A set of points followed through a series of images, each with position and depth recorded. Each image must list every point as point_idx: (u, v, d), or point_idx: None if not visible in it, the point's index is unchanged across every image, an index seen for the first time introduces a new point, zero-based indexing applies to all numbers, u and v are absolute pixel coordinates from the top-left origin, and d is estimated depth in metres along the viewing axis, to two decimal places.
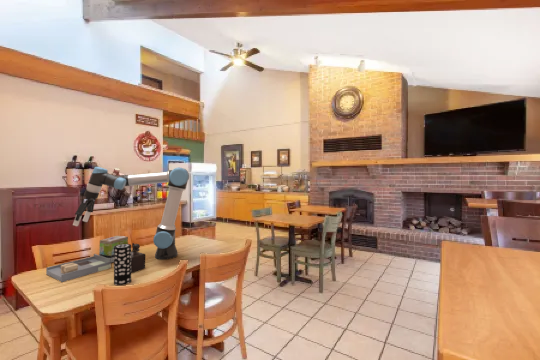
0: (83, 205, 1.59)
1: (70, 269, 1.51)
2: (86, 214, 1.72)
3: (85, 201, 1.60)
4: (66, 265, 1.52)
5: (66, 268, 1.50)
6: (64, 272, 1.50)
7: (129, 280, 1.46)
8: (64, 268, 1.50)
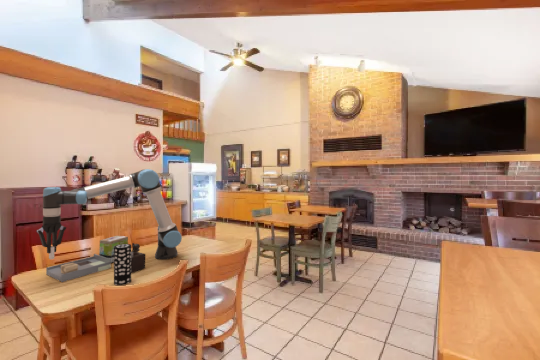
0: (40, 236, 1.41)
1: (70, 269, 1.51)
2: None
3: (38, 232, 1.40)
4: (66, 265, 1.52)
5: (66, 268, 1.50)
6: (64, 272, 1.50)
7: (129, 280, 1.46)
8: (64, 268, 1.50)
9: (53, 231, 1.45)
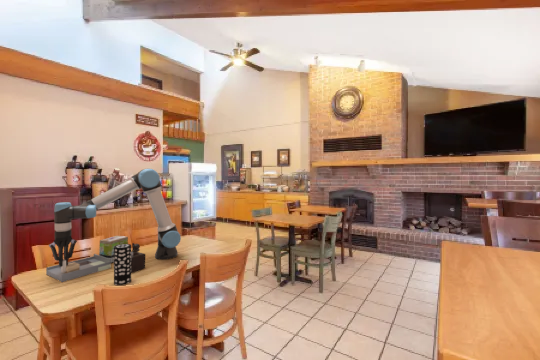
0: (53, 251, 1.46)
1: (72, 268, 1.52)
2: None
3: (50, 247, 1.45)
4: (67, 265, 1.53)
5: (68, 268, 1.50)
6: (66, 272, 1.51)
7: (129, 280, 1.46)
8: (66, 268, 1.51)
9: (64, 245, 1.50)
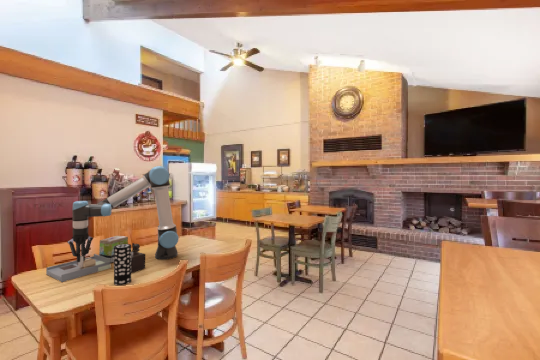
0: (71, 247, 1.53)
1: (89, 264, 1.59)
2: None
3: (69, 243, 1.52)
4: (84, 261, 1.60)
5: (85, 263, 1.58)
6: (83, 267, 1.58)
7: (129, 280, 1.46)
8: (83, 263, 1.58)
9: (82, 241, 1.57)
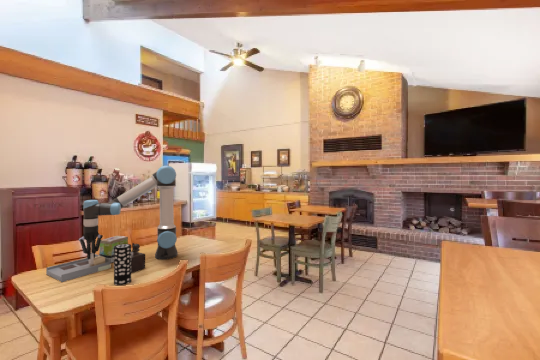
0: (82, 244, 1.58)
1: (99, 261, 1.64)
2: None
3: (80, 241, 1.57)
4: (94, 258, 1.65)
5: (95, 261, 1.62)
6: (93, 264, 1.63)
7: (129, 280, 1.46)
8: None
9: (92, 239, 1.62)
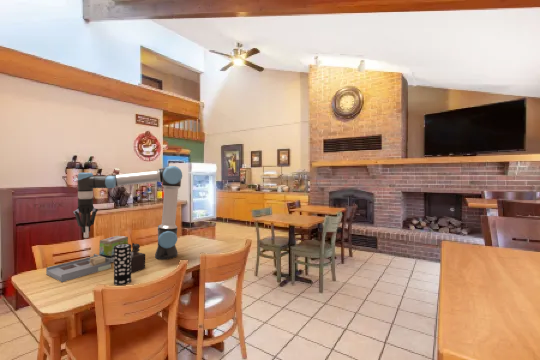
0: (77, 217, 1.56)
1: (99, 261, 1.64)
2: None
3: (75, 213, 1.55)
4: (95, 258, 1.65)
5: (95, 260, 1.63)
6: (93, 264, 1.63)
7: (129, 280, 1.46)
8: (93, 261, 1.63)
9: (87, 212, 1.60)
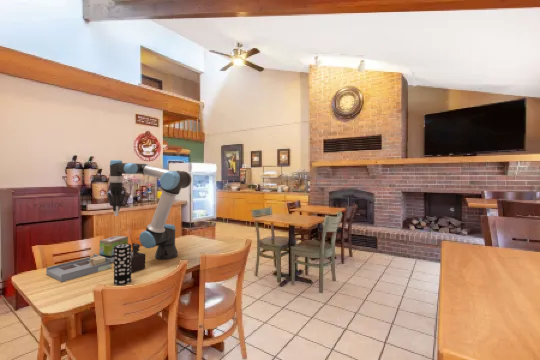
0: (109, 197, 1.83)
1: (99, 261, 1.64)
2: None
3: (107, 194, 1.82)
4: (95, 258, 1.65)
5: (95, 260, 1.63)
6: (93, 264, 1.63)
7: (129, 280, 1.46)
8: (93, 261, 1.63)
9: (117, 194, 1.87)
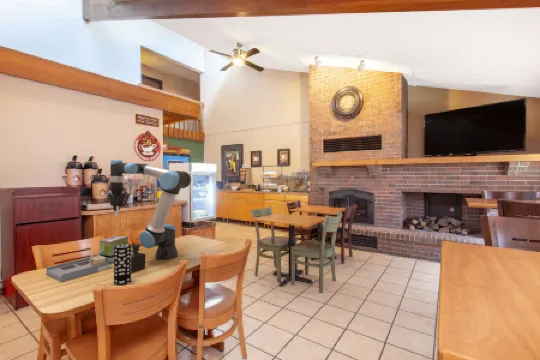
0: (109, 197, 1.84)
1: (99, 261, 1.64)
2: None
3: (108, 194, 1.83)
4: (95, 258, 1.65)
5: (95, 260, 1.63)
6: (93, 264, 1.63)
7: (129, 280, 1.46)
8: (93, 261, 1.63)
9: (118, 194, 1.88)
